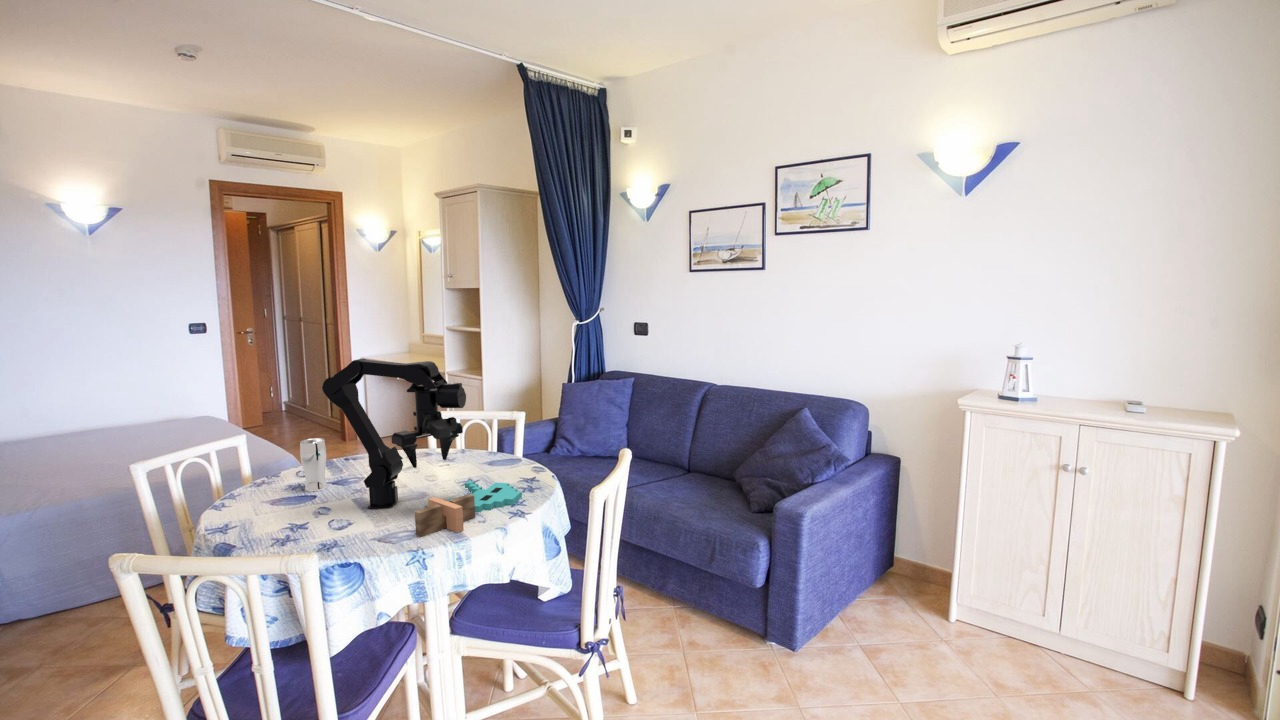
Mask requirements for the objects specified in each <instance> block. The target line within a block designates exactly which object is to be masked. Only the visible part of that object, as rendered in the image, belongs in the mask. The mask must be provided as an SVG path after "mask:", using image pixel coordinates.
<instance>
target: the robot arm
mask: <svg viewBox="0 0 1280 720" xmlns="http://www.w3.org/2000/svg"><path fill="white" fill-rule="evenodd" d="M439 370H440V369H439V368H438V365H436V363H435V362H433V361H431V360H430V361H429V360H428V361H427V360H426V361H416V362H407V363H404V362H403V363H402V362H394V361H383V360H374V359H372V360H371V359H366V358H358V359H354V360H352V361H351V362H349V364H347V366H345V367H344V368H342V369H341V370H340V371H338V372H337V373H335V374H334V375H333V376H330V377H328V378H326V379H324V381H323V383H322V386H321V391H322V392H323V394H324V395H325V397H327V399H328V400H329V401H330V402H331V403H332V404H333V405H334V406H336V407H338V408H339V409H340V410H341V411H342V413H343V414H344V416H345V417H346V420H347V421H348V423H349V424H350V426H351V428H352V429H353V431H354V432H355V435H356V436H357V438H358V439H359V441H360V443H361V445H362V446H363V447H364V449H365V451H366V453H367V455H368V466H369V470H370V471H371V472H370V473H369V475H367V476H366V478H364V480H363V483H364V486H365V488H367V489H368V494H369V495H368V496H369V505H368V506H367V509H369V510H371V509H384V508H386V509H387V508H388V509H389V508H393V507H394V506H395V505H396V503H397V502H398V501H399V492H398V491H399V490H398V485H396V480H397V479H398V476H399V474H400V473H401V472H402V470H403V467H404V463H403V459H404V457H402V456H401V455H400V453H399V450H398V448H397V447H400V448H401V449H402V451H403V452H404V453H405V455H406V457H407V459H408V460H409V462H410V464H411V466H412V467H413V468H414V469H416V468H417V467H418V463H417V462H418V460H417V452H416V451H417V448H418V445H419V444H418V443H417V440H419V439H424V438H428V437H431V436H432V437H433V439H435V440H439V445H440V451H441V453H440V454H441V457H442V460H443V461H446V460H447V458H448V455H449V452H450V448H451V446H452V443H453V441H454V440H455V439H456V438H457V437H460V435H459V434H463V432H464V431H463V429H464V428H463V425H462V424H461V423H460V422H457V418H456V417H454V416H452V417H448V418H443V417H442V412H441V411H440V410H439V408H438V407H440V408H441V409H463V408H464V407H465V405H466V403H467V402H466V401H467V393H466V391H465V389H464V387H463V383H462V382H455V383H448V381H447V380H446V379H445V378H444V376H443V374H441V372H440V371H439ZM365 375H367V376H376V377H386V378H396V379H401V380H404V381H406V382H408V383H411V385H410V387H408V388H407V389H406V392H407V393H414V399H415V400H414V403H415V411H413V416H414V417H415V418H416V419H415V420H416V425H415V426H414V427H413V429H414V431H415V432H413V431H408V430H402V431H398V432H394V433H393V434H392V435H391V444H393V445H396V446H397V447H396V446H393V447H391V448H390V447H389V446H387V445H386V444H385V443H384V441H383V439H382V438H381V436H380V435H379V433H378V431H377V429H376V427H375V426H374V424H373V423H372V421H371V419H370V417H369V416H368V414H367V412H366V411H365V409H364V407H363V405H362V404H361V403H360V401H359V389H358V387H357V383H359V382H360V381H361V380H362V378H363V377H364V376H365Z"/></svg>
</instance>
